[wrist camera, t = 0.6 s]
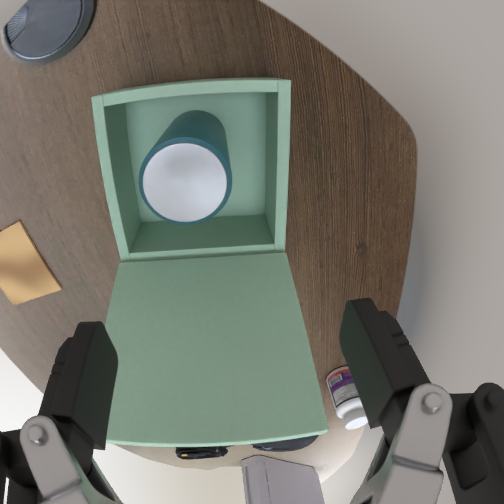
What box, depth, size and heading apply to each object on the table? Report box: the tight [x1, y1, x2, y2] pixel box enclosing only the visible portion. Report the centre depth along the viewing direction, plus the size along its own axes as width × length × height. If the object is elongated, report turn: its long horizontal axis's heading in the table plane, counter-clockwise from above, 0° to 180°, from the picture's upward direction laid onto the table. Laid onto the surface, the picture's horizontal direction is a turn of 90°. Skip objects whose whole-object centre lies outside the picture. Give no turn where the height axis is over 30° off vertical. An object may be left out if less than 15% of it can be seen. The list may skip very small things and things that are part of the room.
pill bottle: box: [326, 366, 368, 429], centre depth 45 cm, size 5×5×10 cm
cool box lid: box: [105, 253, 329, 447], centre depth 22 cm, size 15×14×5 cm
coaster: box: [0, 220, 62, 305], centre depth 31 cm, size 10×10×1 cm
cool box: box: [92, 77, 291, 262], centre depth 25 cm, size 14×14×6 cm
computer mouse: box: [176, 435, 319, 459], centre depth 56 cm, size 9×32×6 cm, turn 113°
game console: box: [241, 455, 324, 504], centre depth 64 cm, size 6×27×20 cm, turn 41°
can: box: [138, 110, 232, 225], centre depth 21 cm, size 5×5×11 cm
